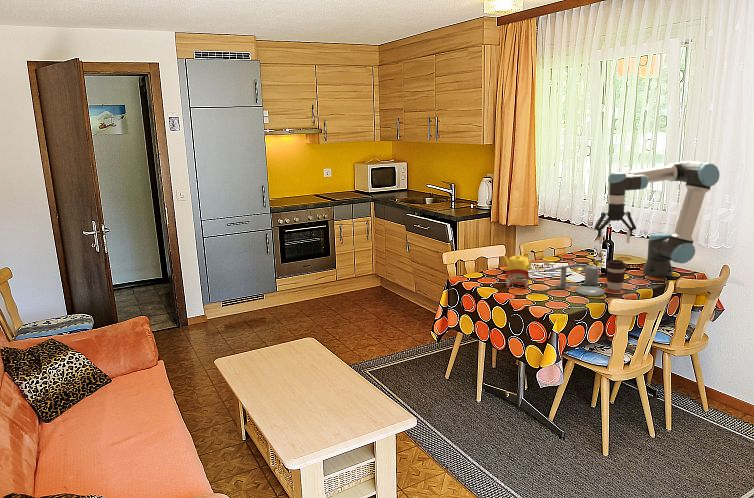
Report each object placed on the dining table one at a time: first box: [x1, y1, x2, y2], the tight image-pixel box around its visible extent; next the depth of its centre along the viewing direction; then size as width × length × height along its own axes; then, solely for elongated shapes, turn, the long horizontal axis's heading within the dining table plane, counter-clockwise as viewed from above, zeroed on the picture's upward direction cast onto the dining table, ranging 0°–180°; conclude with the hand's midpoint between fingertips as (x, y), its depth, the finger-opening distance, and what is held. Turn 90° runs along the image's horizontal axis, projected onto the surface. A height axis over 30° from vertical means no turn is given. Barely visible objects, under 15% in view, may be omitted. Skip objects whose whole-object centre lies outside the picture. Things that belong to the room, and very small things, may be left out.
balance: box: [543, 261, 585, 289], centre depth 301 cm, size 21×6×13 cm, turn 82°
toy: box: [505, 269, 530, 290], centre depth 307 cm, size 12×10×8 cm
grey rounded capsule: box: [584, 265, 600, 286], centre depth 305 cm, size 7×7×9 cm
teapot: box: [502, 253, 535, 272], centre depth 332 cm, size 15×14×10 cm
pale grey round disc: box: [575, 285, 606, 297], centre depth 291 cm, size 14×14×1 cm
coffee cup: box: [605, 259, 627, 291], centre depth 294 cm, size 10×10×15 cm
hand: (614, 242), depth 291 cm, fingers open, 13 cm apart
